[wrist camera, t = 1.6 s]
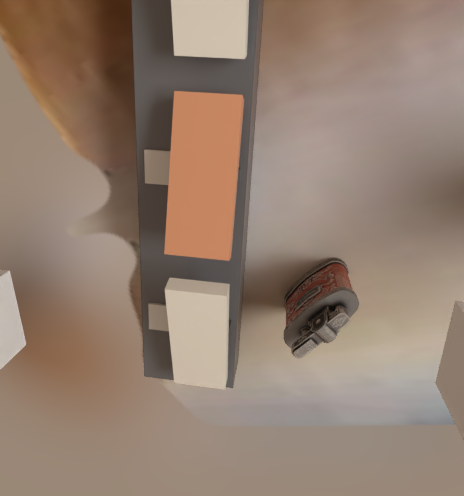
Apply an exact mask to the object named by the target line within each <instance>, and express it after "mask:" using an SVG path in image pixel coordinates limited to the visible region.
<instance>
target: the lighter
mask: <svg viewBox="0 0 464 496" xmlns="http://www.w3.org/2000/svg"><path fill="white" fill-rule="evenodd" d="M348 273H349V272H348V268H347V265H346V264H345V263H344V262H343V261H342V260H341V259H338V258H331V259H328V260H327V261H325V262H323V263H321V264H320V265H318V266H316V267H315V268H313V269H312V270H311V271H309V272H308V273H306V274H305V275H304V276H303V277H302V278H301V279H300V280H299V281H298V282H297V283H296V284H294V286H293V287H292V288H291V289H290V291H289V292H288V293H287V294H286V296H285V307H286V328H285V330H284V341H285V343H286V344H287V345H288V346H289V347H290V348H291V352H292V354H293V355H294V356H295V357H296V358H302V357H303V356H305V355H306V354H308V353H309V352H310V351H312V350H313V349H314V348H316V347H317V346H318V345H320V344H321V343H322V342H324V343H325V342H326V343H329V342H331V341H332V340H334V339H335V338H336V336H337V334H338V332H339V330H340V329H341V328H343V327H344V326H345V325H347V324H348V323H349V322H350V317H351V316H352V315H353V314H354V313H355V312H356V310H357V309H358V306H359V302H358V299H357V296H356V294H355V293H354V291H353V290H352V287H351V284H350V280H349V277H348Z"/></svg>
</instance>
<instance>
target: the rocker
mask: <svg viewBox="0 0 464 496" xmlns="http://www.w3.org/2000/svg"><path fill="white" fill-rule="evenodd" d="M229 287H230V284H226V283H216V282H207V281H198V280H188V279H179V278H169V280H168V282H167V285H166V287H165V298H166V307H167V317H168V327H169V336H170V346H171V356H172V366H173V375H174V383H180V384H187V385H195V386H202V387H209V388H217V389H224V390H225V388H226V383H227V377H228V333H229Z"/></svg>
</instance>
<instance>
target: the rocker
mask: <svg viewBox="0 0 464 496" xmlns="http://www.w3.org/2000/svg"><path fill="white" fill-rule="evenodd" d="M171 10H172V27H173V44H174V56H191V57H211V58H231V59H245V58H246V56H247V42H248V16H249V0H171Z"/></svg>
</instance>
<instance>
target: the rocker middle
mask: <svg viewBox="0 0 464 496" xmlns="http://www.w3.org/2000/svg"><path fill="white" fill-rule="evenodd" d="M243 109H244V98H243V95H236V94H219V93H202V92H185V91H174V102H173V119H172V135H171V152H170V168H169V185H168V201H167V217H166V234H165V250H164V254H168V255H177V256H187V257H197V258H207V259H217V260H227V261H229V260H230V258H231V252H232V240H233V229H234V217H235V205H236V193H237V181H238V169H239V157H240V145H241V133H242V121H243Z"/></svg>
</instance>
